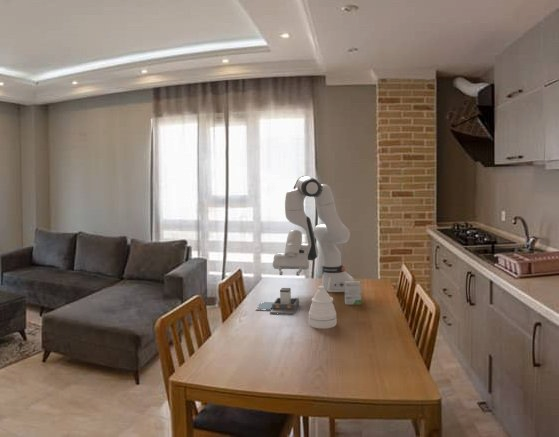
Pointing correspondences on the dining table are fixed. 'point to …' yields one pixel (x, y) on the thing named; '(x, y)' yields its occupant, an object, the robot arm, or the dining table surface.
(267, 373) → the dining table surface
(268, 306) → the mat
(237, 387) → the dining table surface
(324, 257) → the robot arm
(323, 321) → the honey pot
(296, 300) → the equipment case
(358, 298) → the ink box
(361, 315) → the dining table surface
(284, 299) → the block
